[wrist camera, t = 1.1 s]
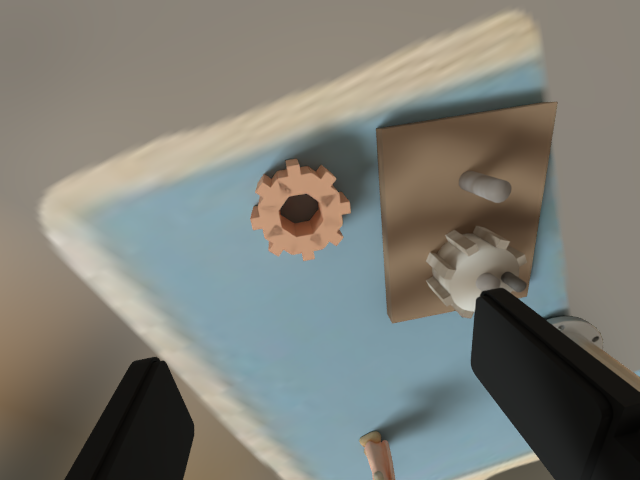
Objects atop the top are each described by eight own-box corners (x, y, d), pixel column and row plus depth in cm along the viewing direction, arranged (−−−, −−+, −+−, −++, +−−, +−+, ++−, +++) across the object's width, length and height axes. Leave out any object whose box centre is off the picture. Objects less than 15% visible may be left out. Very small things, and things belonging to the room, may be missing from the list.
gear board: (516, 288, 32) (568, 327, 26) (387, 314, 31) (412, 359, 25) (542, 102, 25) (622, 98, 19) (375, 128, 24) (407, 133, 18)
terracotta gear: (346, 236, 27) (354, 251, 24) (264, 251, 27) (262, 268, 24) (336, 152, 24) (345, 157, 21) (244, 166, 24) (239, 174, 21)
